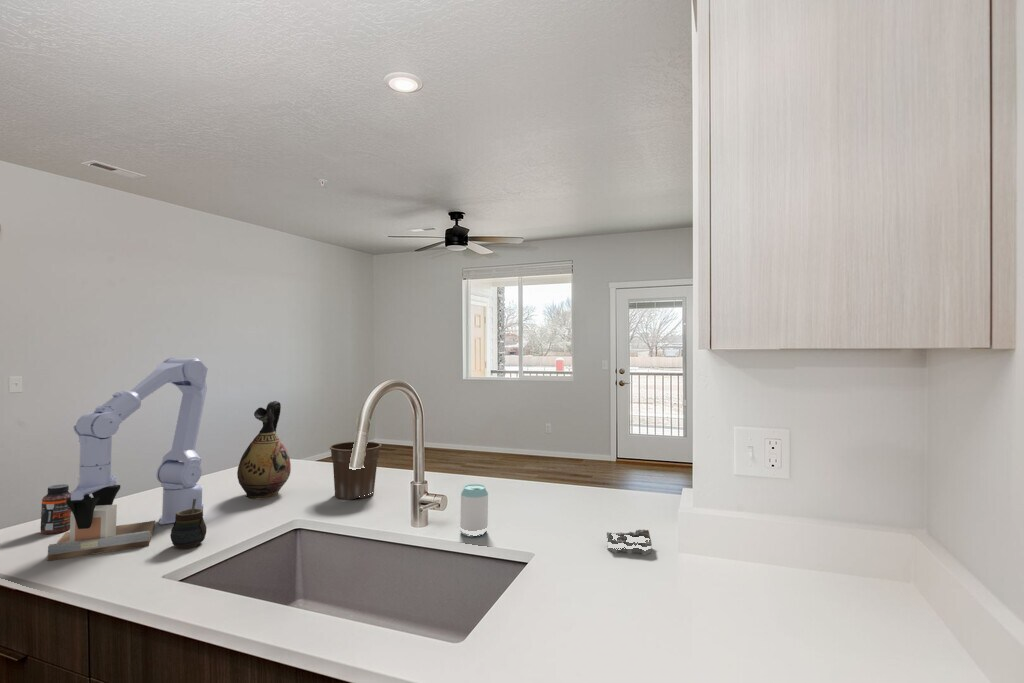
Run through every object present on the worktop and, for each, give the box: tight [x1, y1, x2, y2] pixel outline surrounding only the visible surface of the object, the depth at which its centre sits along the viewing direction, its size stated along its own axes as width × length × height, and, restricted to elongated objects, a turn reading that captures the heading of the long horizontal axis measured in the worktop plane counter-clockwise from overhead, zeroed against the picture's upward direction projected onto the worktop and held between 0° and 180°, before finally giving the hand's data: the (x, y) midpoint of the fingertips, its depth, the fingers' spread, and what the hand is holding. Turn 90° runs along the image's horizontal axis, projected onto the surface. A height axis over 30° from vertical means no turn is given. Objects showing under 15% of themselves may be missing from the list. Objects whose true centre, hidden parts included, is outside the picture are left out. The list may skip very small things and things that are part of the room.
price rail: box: [47, 531, 150, 556], centre depth 115 cm, size 18×1×2 cm, turn 121°
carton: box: [69, 504, 118, 542], centre depth 117 cm, size 5×7×8 cm, turn 103°
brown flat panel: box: [47, 520, 156, 562], centre depth 122 cm, size 18×16×1 cm
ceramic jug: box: [236, 400, 292, 500], centre depth 163 cm, size 17×15×30 cm
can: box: [459, 483, 489, 538], centre depth 131 cm, size 7×7×12 cm
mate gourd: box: [169, 499, 207, 550], centre depth 120 cm, size 7×8×10 cm
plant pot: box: [329, 441, 382, 501], centre depth 164 cm, size 16×16×16 cm
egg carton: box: [606, 529, 653, 556], centre depth 122 cm, size 11×8×4 cm
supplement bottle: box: [39, 483, 72, 535], centre depth 128 cm, size 6×6×11 cm
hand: (93, 522), depth 118 cm, fingers open, 7 cm apart
